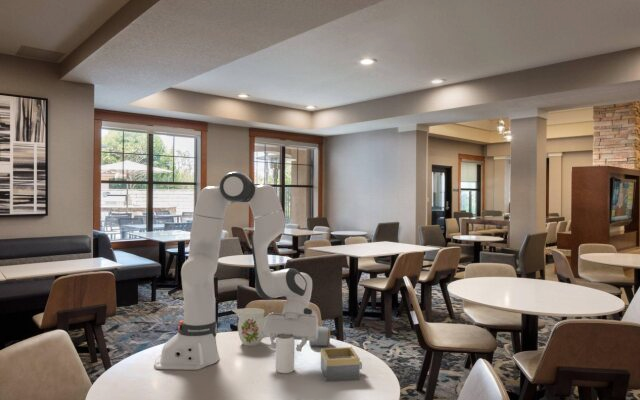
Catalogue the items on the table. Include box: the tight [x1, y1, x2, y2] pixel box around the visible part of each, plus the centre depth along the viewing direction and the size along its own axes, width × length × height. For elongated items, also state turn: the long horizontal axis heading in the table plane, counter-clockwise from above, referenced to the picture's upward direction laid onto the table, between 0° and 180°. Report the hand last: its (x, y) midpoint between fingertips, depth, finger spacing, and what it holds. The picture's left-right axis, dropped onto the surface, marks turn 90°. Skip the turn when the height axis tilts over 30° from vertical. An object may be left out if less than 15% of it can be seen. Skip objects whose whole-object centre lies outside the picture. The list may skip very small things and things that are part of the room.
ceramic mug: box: [308, 326, 331, 347], centre depth 179 cm, size 11×8×8 cm
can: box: [275, 333, 295, 375], centre depth 152 cm, size 6×6×12 cm
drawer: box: [320, 346, 363, 383], centre depth 149 cm, size 13×11×7 cm
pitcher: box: [231, 307, 267, 347], centre depth 180 cm, size 11×18×14 cm, turn 94°
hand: (285, 349), depth 152 cm, fingers open, 8 cm apart
